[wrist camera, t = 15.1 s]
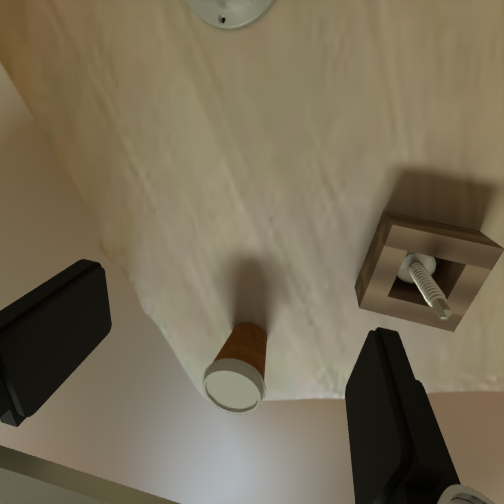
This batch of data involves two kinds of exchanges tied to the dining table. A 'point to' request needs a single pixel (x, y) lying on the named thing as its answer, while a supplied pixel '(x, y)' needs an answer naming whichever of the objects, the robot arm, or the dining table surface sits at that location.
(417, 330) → the dining table surface
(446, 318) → the screw
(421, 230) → the socket block
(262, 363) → the disposable coffee cup
